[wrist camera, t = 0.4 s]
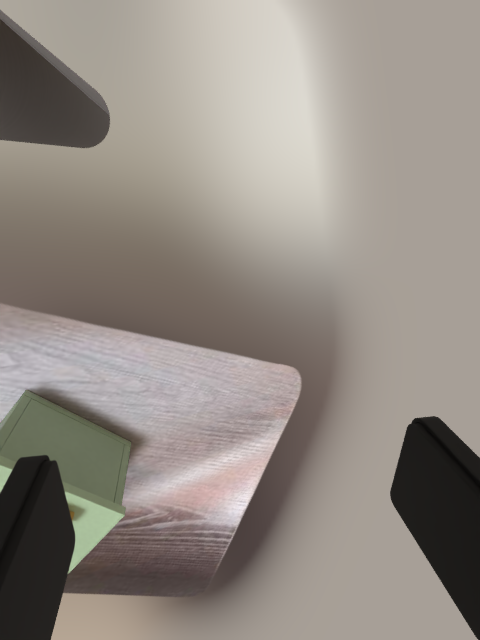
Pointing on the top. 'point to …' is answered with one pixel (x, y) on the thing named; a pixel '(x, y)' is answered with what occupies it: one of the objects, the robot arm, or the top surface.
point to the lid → (80, 514)
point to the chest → (67, 445)
